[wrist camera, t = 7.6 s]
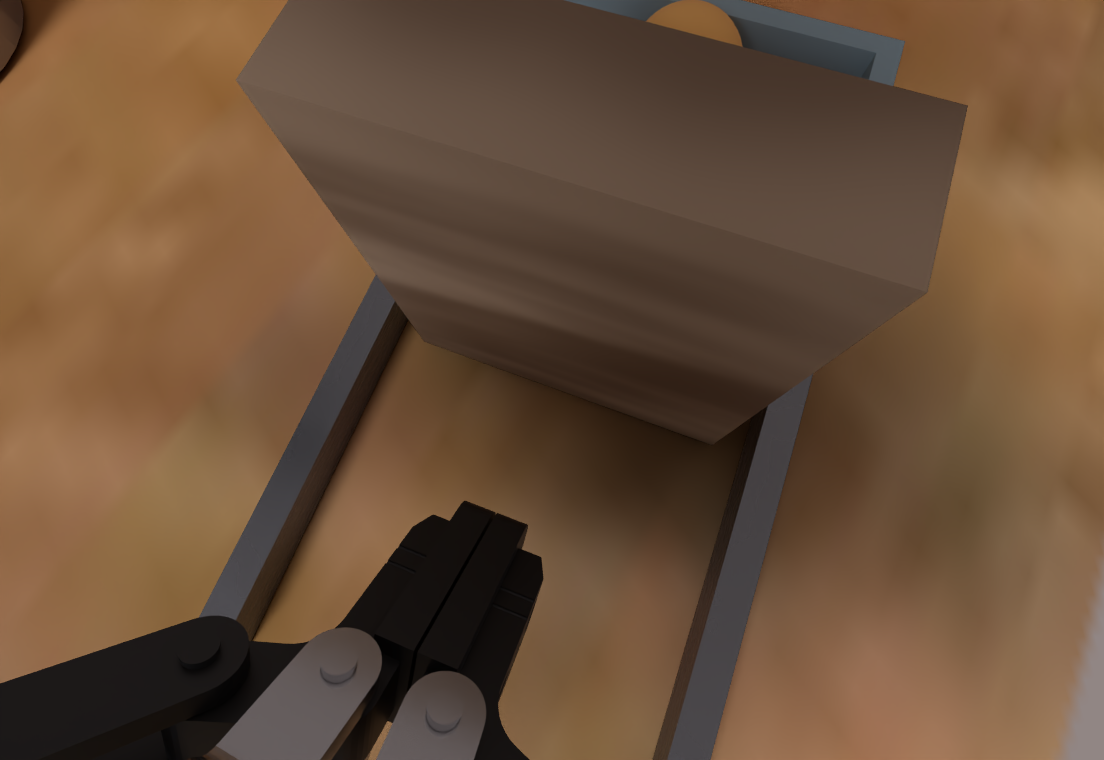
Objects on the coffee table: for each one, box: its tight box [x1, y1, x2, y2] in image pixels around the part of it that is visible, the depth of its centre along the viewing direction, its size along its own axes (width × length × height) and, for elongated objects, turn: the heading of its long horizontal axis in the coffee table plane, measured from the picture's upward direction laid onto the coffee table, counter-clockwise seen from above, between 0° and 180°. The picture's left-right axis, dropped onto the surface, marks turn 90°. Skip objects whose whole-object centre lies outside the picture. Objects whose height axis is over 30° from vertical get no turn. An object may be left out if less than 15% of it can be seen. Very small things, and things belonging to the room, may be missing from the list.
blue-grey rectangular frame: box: [565, 0, 905, 86], centre depth 20 cm, size 11×14×2 cm
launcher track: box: [199, 275, 813, 760], centre depth 17 cm, size 16×14×2 cm
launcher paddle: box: [236, 0, 968, 445], centre depth 13 cm, size 3×10×11 cm, turn 69°
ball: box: [646, 0, 743, 47], centre depth 20 cm, size 4×4×4 cm
